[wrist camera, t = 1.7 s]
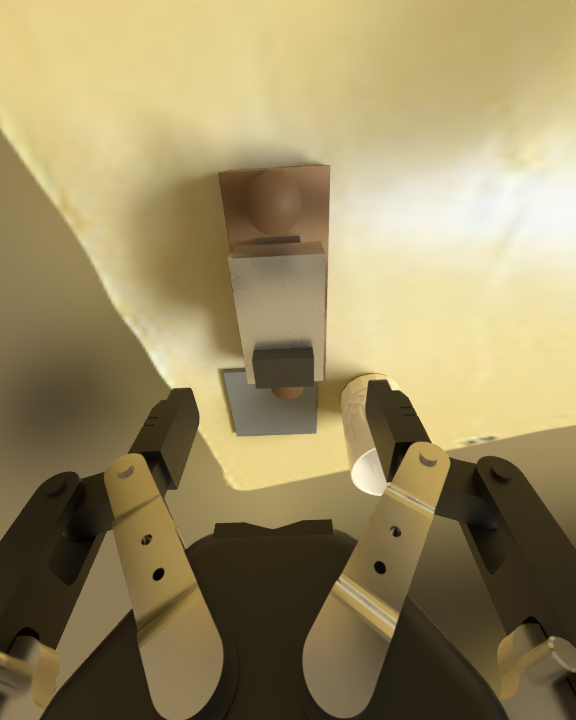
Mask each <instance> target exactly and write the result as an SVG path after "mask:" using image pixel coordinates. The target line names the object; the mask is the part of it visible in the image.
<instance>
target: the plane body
mask: <svg viewBox="0 0 576 720" xmlns="http://www.w3.org/2000/svg"><path fill="white" fill-rule="evenodd" d="M218 174H219V181H220V187H221V194H222V200H223V206H224V213H225V219H226V226H227V232H228V238H229V245H230V251H231V252H232V251H233V249H234V247H235V246H246V245H264V244H282V243H300V242H318V241H321V244H322V246H323V249H324V251H325V253H326V261H325V313H324V365H323V381H325V363H326V321H327V279H328V237H329V195H330V165H311V166H295V167H279V168H263V169H247V170H231V171H224V172H218ZM303 389H304V387H289V388H271V390H272V392H273V394H274V395H275V396H277V397H278V398H281V399H286V400H288V399H294V398H296V397H298V396H299V395H300V394H301V393H302V392H303Z"/></svg>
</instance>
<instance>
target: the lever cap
mask: <svg viewBox="0 0 576 720" xmlns="http://www.w3.org/2000/svg"><path fill="white" fill-rule="evenodd" d="M325 261H326V253H325V251H324V249H323V246H322V244H321V241H318V242H300V243H282V244H264V245H246V246H235V247H234V249H233V251H232V252H231V254H230V256H229V257H228V265H229V271H230V277H231V283H232V290H233V296H234V302H235V308H236V314H237V320H238V326H239V332H240V338H241V344H242V350H243V356H244V363H245V369H246V375H247V381H248V384H255V385H256V389H266V388H289V387H313V386H314V381H323V365H324V313H325Z"/></svg>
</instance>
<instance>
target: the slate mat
mask: <svg viewBox="0 0 576 720" xmlns="http://www.w3.org/2000/svg"><path fill="white" fill-rule="evenodd" d="M223 375H224V380H225V384H226V389H227V393H228V398H229V402H230V407H231V412H232V416H233V421H234V425H235V430H236V434H237V436H263V435H289V434H315V433H316V425H317V381H314V386H313V387H304V389H303V392H302V393H301V394H300V395H299V396H298V397H296V398H294V399H288V400H286V399H281V398H278V397H277V396H275V395H274V394H273V392H272V390H271V388H266V389H256V385H255V384H248V381H247V375H246V369H225V370H224V371H223Z"/></svg>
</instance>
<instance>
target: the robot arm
mask: <svg viewBox="0 0 576 720" xmlns="http://www.w3.org/2000/svg"><path fill="white" fill-rule="evenodd" d="M365 414H366V419H367V422H368V426H369V429H370V432H371V435H372V438H373V441H374V444H375V448H376V451H377V454H378V457H379V460H380V463H381V467H382V470H383V473H384V476H385V479H386V482H387V483H389V482H391V484H390V486H387V487H386V488H385V490H384V492H383V494H382V496H381V498H380V500H379V502H378V504H377V506H376V508H375V510H374V512H373V514H372V516H371V517H370V519H369V521H368V523H367V525H366V527H365V529H364V531H363V533H362V535H361V537H360V539H359V541H358V540H357V539H355V538H354V537H352V536H351V535H349V534H347V533H345V532H342V531H340V530H337V529H333V526H332V520H331V519H330V520H303V521H300V522H296V523H293V524H290V525H286V526H283V527H280V528H277V529H269V528H265V527H260V526H256V525H252V524H248V523H244V522H243V523H216V524H215V529H214V533H213V534H210V535H207V536H205V537H203V538H201V539H200V540H198V541H196V542H195V543H193V544H192V545H191V546H189V547H188V548H186V546H185V543H184V541H183V539H182V537H181V535H180V533H179V530H178V528H177V526H176V523H175V521H174V519H173V517H172V514H171V512H170V510H169V508H168V505H167V503H166V501H165V499H164V497H165V494H166V492H167V490H175V489H178V486H179V483H180V480H181V476H182V474H183V471H184V468H185V465H186V462H187V459H188V456H189V453H190V450H191V447H192V444H193V441H194V438H195V435H196V432H197V429H198V426H199V411H198V408H197V405H196V401H195V398H194V395H193V391H192V389H191V388H174V389H172V390H171V393H170V394H169V396H168V398H167V400H161V401H160V402H159V403H158V404H157V405H156V406H155V407H154V408H152V410H151V412H150V414H149V416H148V419H146V421H145V423H144V426H143V427H142V428H141V430H140V432H139V434H138V436H137V438H136V439H135V441H134V443H133V445H132V447H131V449H130V450H129V452H128V454H127V455H124V456H121V457H119V458H118V459H116V460H115V461H113V462H112V463H111V464H110V465H109V466H108V468H107V469H106V471H105V472H102V473H99V474H96V475H93V476H89V477H86V478H83V479H81V478H80V477H79V476H78V474H76V473H75V472H63V473H59V474H57V475H55V476H53V477H51V478H49V479H48V480H46V481H45V482H44V483H43V484H42V485H41V486H39V488H38V489H37V490H36V491H35V493H34V494H33V496H32V497H31V498H30V500H29V501H28V503H27V504H26V506H25V507H24V508H23V510H22V511H21V513H20V514H19V515H18V517H17V518H16V520H15V521H14V523H13V524H12V525H11V527H10V528H9V530H8V531H7V532H6V534H5V535H4V537H3V538H2V540H1V541H0V720H576V549H575V548H574V546H573V545H572V544H571V542H570V541H569V539H568V538H567V536H566V535H565V533H564V532H563V530H562V529H561V528H560V526H559V525H558V523H557V522H556V520H555V519H554V518H553V516H552V515H551V513H550V512H549V510H548V509H547V508H546V506H545V505H544V503H543V502H542V500H541V499H540V497H539V496H538V495H537V493H536V492H535V490H534V489H533V487H532V486H531V484H530V483H529V482H528V480H527V479H526V477H525V476H524V474H523V473H522V472H521V471H520V470H519V469H518V468H517V467H516V466H515V465H513V464H512V463H511V462H508V461H507V460H504V459H502V458H499V457H494V456H486V457H482V458H481V459H479V461H478V462H477V464H474V463H470V462H465V461H461V460H456V459H453V458H450V457H448V455H447V454H446V452H445V451H444V450H443V449H441V448H440V447H438V446H437V445H435V444H432V442H431V440H430V438H429V436H428V434H427V432H426V431H425V429H424V427H423V425H422V423H421V421H420V419H419V417H418V416H417V413H416V412H415V410H414V408H413V406H412V404H411V402H410V400H409V398H408V397H407V396H406V395H405V394H403V393H402V392H401V391H400V390H392V389H391V387H390V385H389V383H388V381H387V380H386V379H380V380H369V381H368V387H367V395H366V403H365ZM434 514H435V515H439V516H442V517H446V518H450V519H453V520H457V521H459V524H460V526H461V528H462V531H463V533H464V535H465V538H466V540H467V542H468V545H469V547H470V550H471V552H472V554H473V556H474V559H475V562H476V564H477V566H478V569H479V571H480V573H481V576H482V578H483V580H484V583H485V585H486V588H487V590H488V592H489V594H490V597H491V599H492V602H493V604H494V606H495V609H496V611H497V614H498V616H499V618H500V620H501V623H502V625H503V628H504V630H505V632H506V635H507V637H506V638H505V639H504V640H503V641H502V642H501V643H500V645H499V648H498V663H499V667H500V671H501V675H502V680H503V693H502V697H501V699H500V701H499V699H498V697H497V696H496V694H495V693H494V691H493V690H492V688H491V687H490V686H489V684H488V683H487V682H486V680H485V679H484V678H483V677H482V675H481V674H480V673H479V672H478V671H477V670H476V669H475V668H474V667H473V666H472V664H471V663H470V662H469V661H468V660H467V659H466V658H465V657H464V655H463V654H462V653H461V652H460V651H459V650H458V649H457V648H456V647H455V646H454V644H453V643H452V642H451V641H450V640H449V639H448V638H447V637H446V635H445V634H444V633H443V632H442V631H441V630H440V629H439V628H438V627H437V625H436V624H435V623H434V622H433V621H432V620H431V619H430V618H429V617H428V616H427V614H426V613H425V612H424V611H423V610H422V609H421V608H420V607H419V606H418V605H417V603H416V602H415V601H414V600H413V599H412V598H411V597H410V596H409V595H408V593H407V591H408V589H409V586H410V583H411V580H412V577H413V574H414V571H415V568H416V565H417V562H418V559H419V556H420V554H421V551H422V548H423V545H424V542H425V539H426V536H427V533H428V530H429V527H430V524H431V521H432V519H433V516H434ZM109 530H113V533H114V537H115V541H116V545H117V549H118V553H119V557H120V561H121V565H122V569H123V573H124V577H125V581H126V585H127V589H128V593H129V597H130V600H131V604H132V609H131V610H130V611H129V612H128V614H127V615H126V616H125V617H124V618H123V619H122V620H121V621H120V622H119V623H118V625H117V626H116V627H115V628H114V629H113V630H112V631H111V632H110V633H109V635H108V636H107V637H106V638H105V639H104V640H103V641H102V642H101V644H100V645H99V646H98V647H97V648H96V649H95V650H94V651H93V652H92V653H91V654H90V656H89V657H88V658H87V659H86V660H85V661H84V662H83V663H82V664H81V666H80V667H79V668H78V669H77V670H76V671H75V672H74V673H73V674H72V676H71V677H70V678H69V679H68V680H67V681H66V682H65V683H64V685H63V686H62V687H61V688H60V689H59V691H58V692H57V693H56V695H55V696H54V692H55V690H56V687H57V677H58V674H59V668H60V658H59V655H58V653H57V652H56V651H55V650H56V648H57V645H58V643H59V641H60V638H61V636H62V634H63V632H64V629H65V627H66V624H67V622H68V620H69V618H70V615H71V613H72V611H73V608H74V606H75V604H76V601H77V599H78V597H79V595H80V592H81V590H82V587H83V585H84V583H85V580H86V578H87V576H88V574H89V571H90V569H91V567H92V564H93V562H94V559H95V558H96V555H97V553H98V551H99V548H100V546H101V543H102V541H103V539H104V536H105V534H106V532H107V531H109Z"/></svg>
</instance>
